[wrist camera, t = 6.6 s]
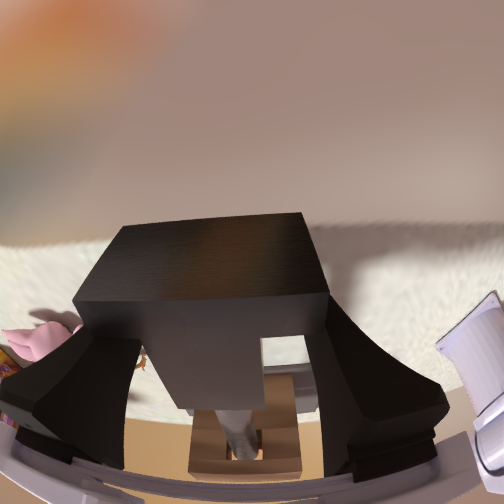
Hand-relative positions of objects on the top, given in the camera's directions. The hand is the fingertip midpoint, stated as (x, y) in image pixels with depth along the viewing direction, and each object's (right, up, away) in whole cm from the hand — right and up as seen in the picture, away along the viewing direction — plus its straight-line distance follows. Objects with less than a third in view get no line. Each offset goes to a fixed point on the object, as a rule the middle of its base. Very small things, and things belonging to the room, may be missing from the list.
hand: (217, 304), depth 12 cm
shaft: (0, -4, +4) cm, 6 cm away
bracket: (+1, -9, +12) cm, 15 cm away
